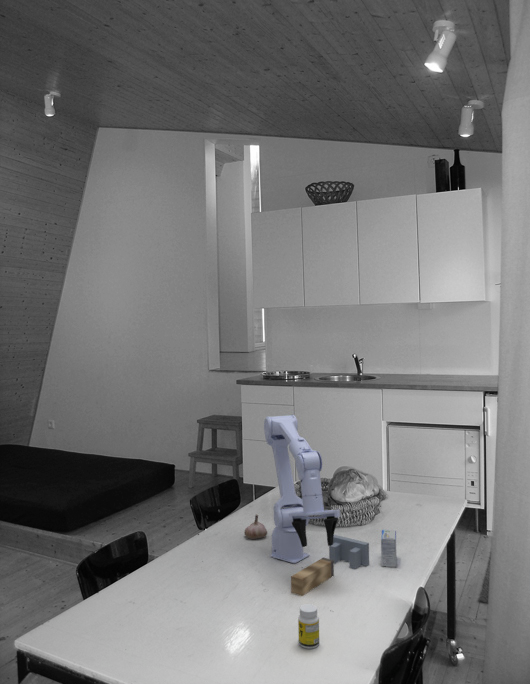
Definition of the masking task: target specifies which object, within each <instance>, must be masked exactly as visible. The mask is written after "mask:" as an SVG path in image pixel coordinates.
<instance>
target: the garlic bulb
mask: <svg viewBox="0 0 530 684" xmlns="http://www.w3.org/2000/svg"><path fill="white" fill-rule="evenodd" d="M254 517H255V518H254V522H252V523H251V524H250V525H249V526H246V527H245V529H244V532H243V533H244V536H245V537H246V538H247V539H250V540H255V539H260V538H262V539H263V538H265V537H266V536H267V535H268V531H267V528H266V527H265V525H264V524H263V523H262V522H259V521H258V520H259V515H258V514H257V513H256V514H255V516H254Z"/></svg>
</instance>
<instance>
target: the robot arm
mask: <svg viewBox="0 0 530 684" xmlns="http://www.w3.org/2000/svg"><path fill="white" fill-rule="evenodd" d="M263 422H264V423H263V430H264V435H265V442H266V444H267V445H268V446H270V447H271V449H272V453H273V458H274V459H273V460H274V465H275V471H276V478H277V483H278V490H279V495H280V498H279V499H278V500H277V501H276V502H275V503H274V505H273V508H272V509H273V521H274V522H273V523H274V526H275V527H274V529H273V530H272V533H271V554H270V558H274V559H278V560H280V561H285V562H287V563H291V564H297V563H298V562H300V561H303V560H304V559H305V558H308V557H309V556H310V554H309V553H306V552H304V548H305V547H307V546H308V539H307V526H308V524H309V520H311V519H312V520H314V519H323V522H324V527H325V530H326V538H327V542H326V543H327V546H328V547H329V546H331V545H333V537H334V535H335V530H336V527H337V524H338V521H339V518H340V517H341V511H340V509H329V510H328V509H325V507H324V506H325V505H324V497H323V491H322V482H321V481H322V480H321V471H322V469H323V458H322V456H321V453H320V451H319V450H313V448H312V447H311V446H310V444H309V443H308V441H307V440H306V439H305V437H302V436H300V434H299V431H298V429H299V423H298V422H299V421H298V418H297V417H296V415H294V414H291V415H277V416H276V415H275V416H270V415H269V416H268V415H267V416H266V417H265V418H264V421H263ZM289 452H290V454H291V455H292V457H293V458H294V460H295V462H294V463H295V469H296V471H297V477H298V480H300V490H301V497H300V496H298V495H297V493H296V489H295V484H294V478H293V477H294V476H293V471H292V467H291V460H290V454H289ZM324 509H325V510H324Z"/></svg>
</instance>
